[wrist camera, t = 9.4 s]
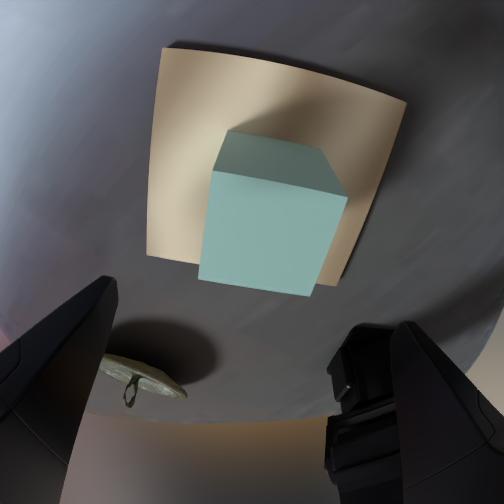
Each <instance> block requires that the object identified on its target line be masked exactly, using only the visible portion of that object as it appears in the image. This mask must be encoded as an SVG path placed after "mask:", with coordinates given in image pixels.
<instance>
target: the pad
mask: <svg viewBox="0 0 504 504" xmlns="http://www.w3.org/2000/svg"><path fill="white" fill-rule="evenodd" d="M406 104H407V103H406V102H404V101H402V100H399V99H397V98H394V97H391V96H389V95H386V94H383V93H381V92H378V91H375V90H372V89H369V88H366V87H363V86H360V85H357V84H354V83H351V82H348V81H345V80H341V79H338V78H335V77H331V76H328V75H324V74H321V73H317V72H313V71H309V70H305V69H301V68H297V67H293V66H289V65H284V64H280V63H275V62H270V61H265V60H260V59H254V58H249V57H243V56H237V55H230V54H223V53H216V52H208V51H199V50H189V49H177V48H162V55H161V61H160V68H159V75H158V83H157V90H156V99H155V107H154V117H153V127H152V138H151V151H150V165H149V183H148V207H147V255H150V256H155V257H161V258H166V259H172V260H178V261H183V262H189V263H195V264H200V258H201V250H202V241H203V234H204V226H205V218H206V211H207V203H208V196H209V189H210V182H211V175H212V170H213V167H214V164H215V162H216V159H217V156H218V154H219V151H220V148H221V146H222V143H223V141H224V138H225V136H226V133H227V130H230V131H236V132H242V133H248V134H253V135H258V136H264V137H269V138H274V139H279V140H283V141H288V142H293V143H297V144H302V145H306V146H310V147H315V148H319V149H321V150H322V152H323V154H324V155H325V157H326V159H327V161H328V162H329V164H330V166H331V167H332V169H333V171H334V173H335V175H336V176H337V178H338V180H339V182H340V183H341V185H342V187H343V189H344V191H345V193H346V194H347V196H348V199H347V202H346V205H345V208H344V210H343V213H342V216H341V218H340V221H339V224H338V227H337V229H336V232H335V235H334V237H333V240H332V242H331V245H330V248H329V250H328V253H327V255H326V258H325V260H324V263H323V265H322V268H321V270H320V273H319V275H318V278H317V280H316V283H317V284H323V285H330V286H336V285H337V283H338V281H339V279H340V276H341V274H342V272H343V270H344V268H345V265H346V263H347V261H348V259H349V256H350V254H351V252H352V249H353V247H354V245H355V242H356V240H357V238H358V235H359V233H360V231H361V228H362V226H363V223H364V221H365V218H366V216H367V214H368V211H369V209H370V206H371V204H372V201H373V198H374V196H375V193H376V191H377V188H378V185H379V183H380V180H381V177H382V175H383V172H384V169H385V167H386V164H387V161H388V158H389V155H390V153H391V150H392V147H393V144H394V141H395V138H396V135H397V132H398V129H399V126H400V123H401V120H402V117H403V114H404V111H405V107H406Z"/></svg>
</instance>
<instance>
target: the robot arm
mask: <svg viewBox="0 0 504 504" xmlns="http://www.w3.org/2000/svg"><path fill="white" fill-rule="evenodd" d="M117 306H118V290H117V281H116V279H115V278H114V277H110V276H105V275H103V276H101V277H99V278H98V279H96V280H95V281H94V282H92V283H91V284H89V285H88V286H87V287H85V288H84V289H82V290H81V291H80V292H78V293H77V294H76V295H74V296H73V297H71V298H70V299H69V300H67V301H66V302H65V303H63V304H62V305H61V306H59V307H58V308H57V309H55V310H54V311H53V312H51V313H50V314H49V315H47V316H46V317H45V318H43V319H42V320H41V321H39V322H38V323H37V324H36V325H34V326H33V327H32V328H30V329H29V330H28V331H27V332H25V333H24V334H23V335H21V336H20V339H19V338H18V339H16V340H15V341H14V342H13V343H11V344H10V345H9V346H7V347H6V348H5V349H4V350H2V351H1V352H0V504H59V502H60V498H61V493H62V489H63V485H64V480H65V477H66V473H67V468H68V464H69V460H70V457H71V453H72V450H73V446H74V443H75V439H76V436H77V432H78V429H79V426H80V423H81V420H82V416H83V413H84V410H85V407H86V404H87V401H88V398H89V395H90V392H91V389H92V386H93V383H94V380H95V378H96V375H97V372H98V369H99V366H100V364H101V361H102V358H103V356H104V353H105V350H106V347H107V343H108V339H109V335H110V331H111V328H112V324H113V320H114V316H115V313H116V309H117ZM327 373H328V374H330V375H331V377H332V384H333V390H334V397H335V400H336V401H337V402H340V404H341V411H342V414H340V415H336V416H335V415H333V416H330V417H328V423H327V424H328V425H327V427H326V447H325V464H324V469H325V471H326V472H328V474H329V477H330V479H331V481H332V483H333V484H334V485H335V486H337V487H338V491H339V495H340V502H341V504H504V416H503V415H502V414H501V413H500V412H499V411H498V410H497V409H496V408H495V407H494V406H493V405H492V404H491V403H490V402H489V401H488V400H487V399H486V398H485V397H484V395H483V394H482V393H481V392H480V391H479V390H477V388H476V387H475V386H474V384H473V383H472V382H471V381H470V380H469V379H468V378H467V377H466V375H465V374H464V373H463V372H462V371H461V370H460V369H459V368H458V367H457V366H456V365H455V364H454V363H453V362H452V360H451V359H450V358H449V357H448V356H447V355H446V354H445V353H444V352H443V351H442V350H441V349H440V348H439V347H438V346H437V345H436V344H435V343H434V342H433V341H432V340H431V339H430V338H429V337H428V336H427V334H426V333H425V332H424V331H423V330H422V329H421V328H420V327H419V326H418V325H417V324H416V323H415V322H413V321H406V320H404V321H402V322H401V323H400V324H399V325H398V327H397V328H396V330H395V331H391V330H380V329H369V328H359V327H357V328H353V329H352V330H351V331H350V332H349V334H348V336H347V337H346V339H345V341H344V342H343V344H342V346H341V347H340V348H339V349H338V351H337V352H336V354H335V356H334V357H333V359H332V360H331V362H330V364H329V366H328V368H327Z"/></svg>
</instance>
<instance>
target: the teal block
mask: <svg viewBox="0 0 504 504" xmlns="http://www.w3.org/2000/svg"><path fill="white" fill-rule="evenodd" d="M347 199H348V196H347V194H346V193H345V191H344V189H343V187H342V185H341V183H340V182H339V180H338V178H337V176H336V175H335V173H334V171H333V169H332V167H331V166H330V164H329V162H328V161H327V159H326V157H325V155H324V154H323V152H322V150H321V149H319V148H315V147H310V146H306V145H302V144H297V143H293V142H288V141H283V140H279V139H274V138H269V137H264V136H258V135H253V134H248V133H242V132H236V131H230V130H227V133H226V136H225V138H224V141H223V143H222V146H221V148H220V151H219V154H218V156H217V159H216V162H215V164H214V167H213V170H212V175H211V182H210V189H209V196H208V203H207V211H206V218H205V226H204V234H203V241H202V250H201V258H200V267H199V275H198V279H200V280H206V281H212V282H218V283H224V284H231V285H237V286H243V287H249V288H256V289H262V290H269V291H275V292H282V293H289V294H296V295H303V296H310V295H311V293H312V290H313V288H314V285H315V283H316V280H317V278H318V275H319V273H320V270H321V268H322V265H323V263H324V260H325V258H326V255H327V253H328V250H329V248H330V245H331V242H332V240H333V237H334V235H335V232H336V229H337V227H338V224H339V221H340V218H341V216H342V213H343V210H344V208H345V205H346V202H347Z"/></svg>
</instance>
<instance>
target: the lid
mask: <svg viewBox="0 0 504 504" xmlns="http://www.w3.org/2000/svg"><path fill="white" fill-rule="evenodd" d="M98 370H99V371H101V372H103V373H105V374H107V375H109V376H111V377H113V378H115V379H117V380H119V381H121V382H123V383H126V384H128V385H127V387H126V390H127V388H128V387H130V386H133V388H134V394H135V395H134V396H133V397H132V398H131V401H130V402H129V403H127V402H126V395H125V393H124V396H123V400H124V403H125V406H126V407H129V408H131V407H132V406H133V405H134V402H135V397H136V393H137V389H138V388H140V389H142V390H145V391H148V392H151V393H154V394H157V395H160V396H164V397H168V398H174V399H186V398H187V393H186V391H185V390H184V389H183V388H182V387H181V386H179V385H178V384H177V383H176V382H174V381H173V380H172V379H171V378H170V377H169V376H168V375H167V374H165V373H164V372H163V371H161V370H159V369H157V368H155V367H152V366H149V365H147V364H145V363H144V362H141V361H135V360H132V359H128V358H125V357H122V356H117V355H112V354H105V353H104V356H103V358H102V361H101V364H100V366H99V369H98ZM126 390H125V392H126Z"/></svg>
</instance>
